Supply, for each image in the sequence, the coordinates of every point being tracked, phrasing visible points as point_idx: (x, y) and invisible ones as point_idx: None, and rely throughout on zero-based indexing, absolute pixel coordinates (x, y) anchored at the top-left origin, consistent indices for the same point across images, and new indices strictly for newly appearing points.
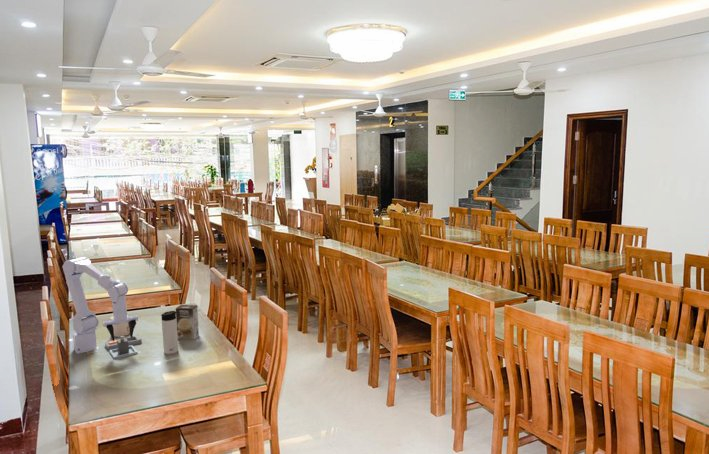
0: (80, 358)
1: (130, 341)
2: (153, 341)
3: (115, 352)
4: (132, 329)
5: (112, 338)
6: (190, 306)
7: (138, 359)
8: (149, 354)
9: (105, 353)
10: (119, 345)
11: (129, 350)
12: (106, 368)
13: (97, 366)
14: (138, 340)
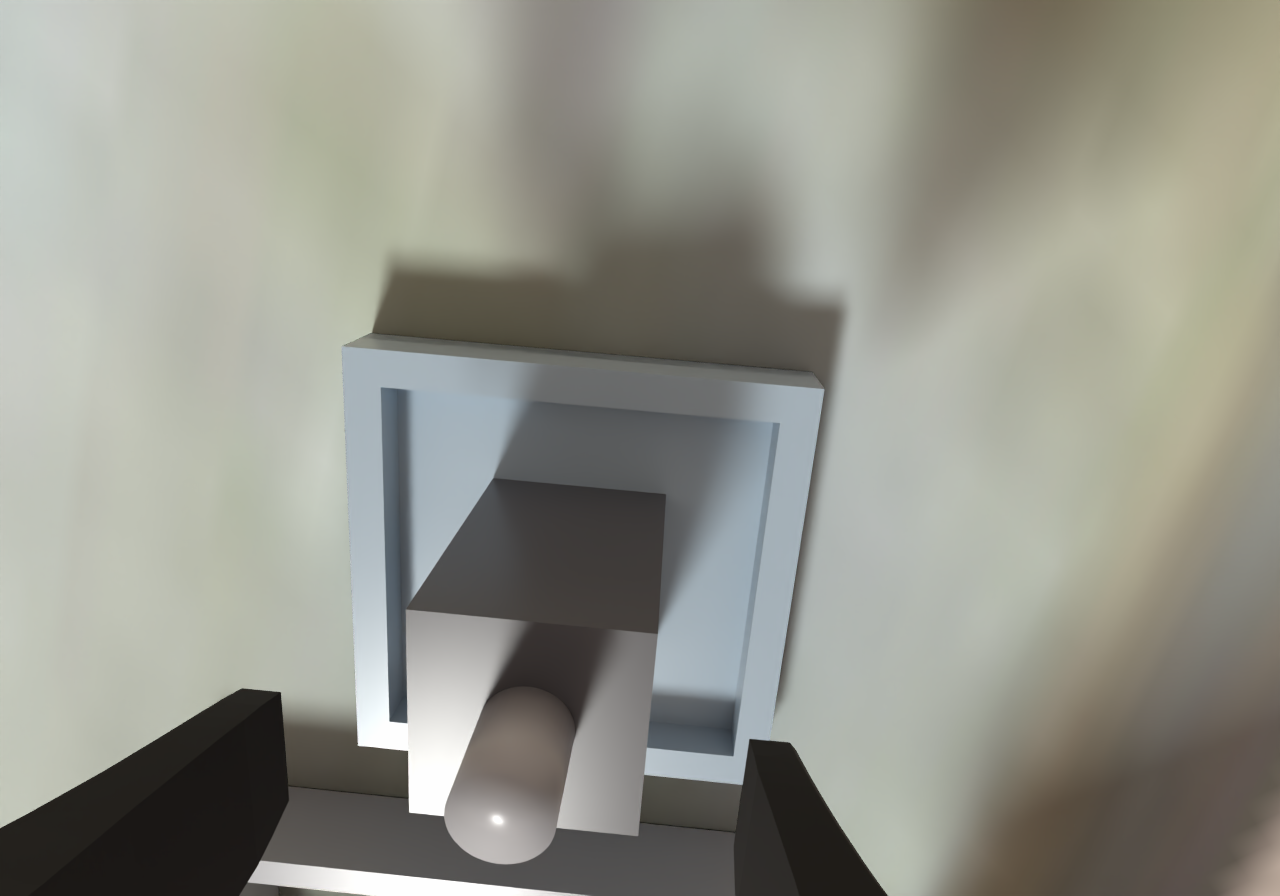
0: (1183, 855)
1: (348, 873)
2: (20, 762)
3: (681, 685)
4: (18, 852)
5: (822, 800)
6: None
7: (412, 61)
8: (165, 188)
9: None
10: (647, 592)
11: None
12: (1098, 28)
13: (1169, 289)
14: None
